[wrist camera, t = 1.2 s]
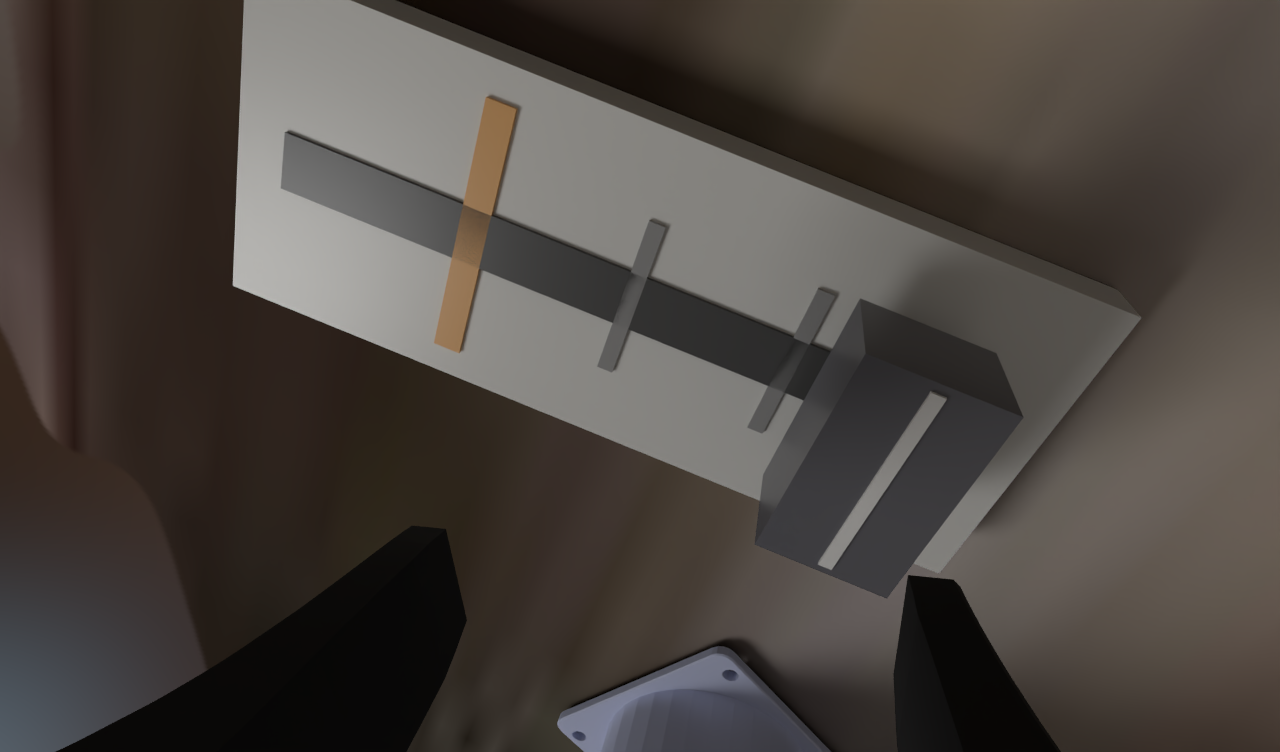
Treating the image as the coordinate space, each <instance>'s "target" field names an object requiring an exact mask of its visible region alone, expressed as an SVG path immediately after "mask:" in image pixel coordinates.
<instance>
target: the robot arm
mask: <svg viewBox="0 0 1280 752" xmlns="http://www.w3.org/2000/svg"><path fill="white" fill-rule="evenodd" d="M466 621H467V619H466V615H465V610H464V606H463V602H462V597H461V593H460V589H459V584H458V580H457V576H456V571H455V567H454V563H453V558H452V554H451V550H450V545H449V541H448V537H447V532H446V529H440V528H430V527H420V526H411V527H409V528H408V529H407V530H405V531H404V532H402V533H401V534H399V535H398V536H397V537H395V538H394V539H392V540H391V541H390V542H388V543H387V544H386V545H384V546H383V547H382V548H380V549H379V550H378V551H376V552H375V553H374V554H372V555H371V556H370V557H368V558H367V559H366V560H364V561H363V562H362V563H360V564H359V565H358V566H356V567H355V568H354V569H352V570H351V571H350V572H349V573H347V574H346V575H345V576H343V577H342V578H340V579H339V580H338V581H336V582H335V583H334V584H332V585H331V586H330V587H328V588H327V589H326V590H324V591H323V592H322V593H320V594H319V595H318V596H316V597H315V598H313V599H312V600H311V601H309V602H308V603H307V604H305V605H304V606H303V607H301V608H300V609H298V610H297V611H296V612H294V613H293V614H291V615H290V616H288V617H287V618H285V619H284V620H283V621H281V622H280V623H278V624H277V625H275V626H274V627H272V628H271V629H269V630H268V631H266V632H265V633H264V634H262V635H261V636H259V637H258V638H256V639H255V640H253V641H252V642H250V643H249V644H247V645H246V646H245V647H243V648H242V649H240V650H239V651H237V652H236V653H234V654H233V655H231V656H229V657H228V658H226V659H225V660H223V661H222V662H220V663H218V664H217V665H215V666H214V667H212V668H210V669H209V670H207V671H205V672H204V673H202V674H201V675H199V676H197V677H195V678H194V679H192V680H190V681H189V682H187V683H185V684H184V685H182V686H180V687H178V688H177V689H175V690H173V691H172V692H170V693H168V694H167V695H165V696H163V697H161V698H160V699H158V700H156V701H154V702H152V703H150V704H149V705H147V706H145V707H143V708H141V709H139V710H137V711H135V712H133V713H131V714H130V715H127V716H126V717H124V718H122V719H120V720H118V721H116V722H114V723H112V724H110V725H108V726H106V727H104V728H103V729H101V730H99V731H97V732H95V733H93V734H91V735H89V736H87V737H85V738H83V739H81V740H79V741H77V742H75V743H73V744H71V745H69V746H67V747H65V748H63V749H60V750H58V751H56V752H406V751H407V750H408V748H409V746H410V744H411V742H412V740H413V738H414V736H415V735H416V733H417V731H418V729H419V727H420V725H421V723H422V721H423V720H424V718H425V716H426V714H427V712H428V710H429V708H430V706H431V704H432V702H433V700H434V699H435V697H436V695H437V693H438V691H439V689H440V687H441V685H442V683H443V681H444V679H445V677H446V674H447V672H448V669H449V667H450V664H451V661H452V659H453V656H454V654H455V651H456V649H457V646H458V643H459V640H460V637H461V635H462V632H463V629H464V626H465V624H466ZM729 670H733V671H729ZM894 693H895V714H896V733H897V747H898V752H1061V751H1060V750H1059V748H1058V747H1057V746H1056V744H1055V743H1054V741H1053V740H1052V738H1051V737H1050V735H1049V734H1048V733H1047V731H1046V730H1045V728H1044V727H1043V725H1042V724H1041V722H1040V721H1039V719H1038V718H1037V716H1036V715H1035V713H1034V712H1033V710H1032V709H1031V707H1030V706H1029V704H1028V703H1027V701H1026V700H1025V698H1024V696H1023V695H1022V693H1021V692H1020V690H1019V689H1018V687H1017V686H1016V684H1015V683H1014V681H1013V680H1012V678H1011V676H1010V675H1009V673H1008V671H1007V670H1006V668H1005V667H1004V665H1003V663H1002V662H1001V660H1000V658H999V657H998V655H997V653H996V652H995V650H994V648H993V646H992V645H991V643H990V641H989V640H988V638H987V636H986V634H985V633H984V631H983V629H982V627H981V626H980V624H979V622H978V620H977V618H976V617H975V615H974V613H973V611H972V609H971V607H970V605H969V603H968V601H967V599H966V597H965V596H964V594H963V591H962V589H961V587H960V586H959V585H958V584H957V583H956V582H955V581H954V580H951V579H941V578H931V577H921V576H911V575H908V580H907V586H906V593H905V600H904V607H903V614H902V621H901V627H900V634H899V641H898V648H897V655H896V662H895V668H894ZM557 724H558V727H559V729H560V730H561V731H562V732H563V733H564V734H565V735H566V736H567V737H568V738H570V739H571V740H572V741H573V742H574V743H575V744H576V745H577V746H578V747H580V748H581V749H582V750H583V751H584V752H831V751H830V750H829V749H828V748H827V747H826V746H825V745H824V744H823V743H822V742H821V741H820V740H819V739H818V738H817V737H816V736H815V735H814V734H813V733H812V732H811V731H810V729H809V728H808V727H807V726H806V725H805V724H804V723H803V722H802V721H801V720H800V719H799V718H798V717H797V716H796V715H795V714H794V713H793V712H792V711H791V710H790V709H789V708H788V707H787V706H786V705H785V704H784V703H783V702H782V701H781V700H780V699H779V698H778V697H777V696H776V694H775V693H774V692H773V691H772V690H771V689H770V688H769V687H768V686H767V685H766V684H765V683H764V682H763V681H762V680H761V679H760V678H759V677H758V676H757V675H756V674H755V673H754V672H753V671H752V670H751V669H750V668H749V667H748V666H747V665H746V664H745V663H744V662H743V661H742V660H741V658H740V657H739V656H738V655H737V654H736V653H735V652H733V651H732V650H731V649H729V648H727V647H724V646H717V647H712V648H710V649H708V650H705V651H703V652H701V653H698V654H696V655H694V656H691V657H689V658H687V659H684V660H682V661H680V662H677V663H675V664H673V665H670V666H668V667H666V668H663V669H661V670H659V671H656V672H654V673H652V674H649V675H647V676H645V677H642V678H640V679H638V680H635V681H633V682H631V683H628V684H626V685H624V686H621V687H619V688H617V689H614V690H612V691H610V692H607V693H605V694H603V695H600V696H598V697H596V698H593V699H591V700H589V701H586V702H584V703H582V704H579V705H577V706H575V707H572V708H570V709H568V710H565V711H563V712H562V713H561V714H560V717H559V720H558V723H557Z"/></svg>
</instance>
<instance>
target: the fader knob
mask: <svg viewBox="0 0 1280 752" xmlns="http://www.w3.org/2000/svg"><path fill="white" fill-rule="evenodd" d="M1023 418H1024V417H1023V415H1022V412H1021V410H1020V408H1019V405H1018V403H1017V400H1016V398H1015V396H1014V393H1013V391H1012V389H1011V386H1010V384H1009V382H1008V379H1007V377H1006V374H1005V372H1004V370H1003V367H1002V365H1001V363H1000V360H999V358H998V356H997V353H995V352H992V351H990V350H987V349H985V348H982V347H980V346H978V345H975V344H973V343H970V342H968V341H965V340H963V339H960V338H958V337H955V336H953V335H950V334H948V333H945V332H943V331H940V330H938V329H935V328H933V327H930V326H928V325H925V324H923V323H920V322H918V321H916V320H913V319H911V318H908V317H906V316H903V315H901V314H898V313H896V312H893V311H891V310H888V309H886V308H883V307H881V306H878V305H876V304H873V303H871V302H868V301H866V300H863V299H861V298H860V299H859V301H858V303H857V305H856V307H855V308H854V310H853V312H852V314H851V316H850V317H849V319H848V321H847V323H846V325H845V327H844V328H843V330H842V332H841V334H840V336H839V337H838V339H837V341H836V343H835V345H834V347H833V348H832V350H831V352H830V354H829V356H828V357H827V359H826V361H825V363H824V365H823V366H822V368H821V370H820V372H819V374H818V376H817V377H816V379H815V381H814V383H813V385H812V386H811V388H810V390H809V392H808V394H807V396H806V397H805V399H804V401H803V403H802V405H801V406H800V408H799V410H798V412H797V414H796V416H795V417H794V419H793V421H792V423H791V425H790V426H789V428H788V430H787V432H786V434H785V436H784V437H783V439H782V441H781V443H780V445H779V446H778V448H777V450H776V452H775V454H774V456H773V457H772V459H771V461H770V463H769V465H768V466H767V468H766V470H765V472H764V474H763V479H762V487H761V495H760V504H759V512H758V521H757V529H756V537H755V545H757V546H760V547H762V548H765V549H767V550H769V551H772V552H774V553H777V554H779V555H782V556H784V557H787V558H789V559H791V560H794V561H796V562H799V563H801V564H804V565H806V566H809V567H811V568H813V569H816V570H818V571H821V572H823V573H826V574H828V575H831V576H833V577H835V578H838V579H840V580H843V581H845V582H848V583H850V584H853V585H855V586H857V587H860V588H862V589H865V590H867V591H870V592H872V593H875V594H877V595H879V596H882V597H884V598H887V597H888V596H889V595H890V593H891V592H892V591H893V589H894V588H895V587H896V585H897V584H898V583H899V581H900V580H901V579H902V578H903V576H904V575H905V574H906V572H907V571H908V570H909V568H910V567H911V566H912V564H913V563H914V562H915V560H916V559H917V558H918V556H919V555H920V554H921V552H922V551H923V550H924V548H925V547H926V546H927V544H928V543H929V542H930V541H931V539H932V538H933V537H934V535H935V534H936V533H937V531H938V530H939V529H940V527H941V526H942V525H943V523H944V522H945V521H946V519H947V518H948V517H949V515H950V514H951V513H952V511H953V510H954V509H955V507H956V506H957V505H958V504H959V502H960V501H961V500H962V498H963V497H964V496H965V494H966V493H967V492H968V490H969V489H970V488H971V486H972V485H973V484H974V482H975V481H976V480H977V478H978V477H979V476H980V474H981V473H982V472H983V470H984V469H985V468H986V467H987V465H988V464H989V463H990V461H991V460H992V459H993V457H994V456H995V455H996V453H997V452H998V451H999V449H1000V448H1001V447H1002V445H1003V444H1004V443H1005V441H1006V440H1007V439H1008V437H1009V436H1010V435H1011V434H1012V432H1013V431H1014V430H1015V428H1016V427H1017V426H1018V424H1019V423H1020V422H1021V420H1022V419H1023Z"/></svg>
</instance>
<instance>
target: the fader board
mask: <svg viewBox="0 0 1280 752" xmlns="http://www.w3.org/2000/svg"><path fill="white" fill-rule="evenodd" d="M233 286H235V287H237V288H240V289H242V290H245V291H247V292H250V293H252V294H255V295H257V296H260V297H262V298H264V299H267V300H269V301H272V302H274V303H277V304H279V305H282V306H284V307H286V308H289V309H291V310H294V311H296V312H299V313H301V314H304V315H306V316H309V317H311V318H313V319H316V320H318V321H321V322H323V323H326V324H328V325H331V326H333V327H335V328H338V329H340V330H343V331H345V332H348V333H350V334H353V335H355V336H358V337H360V338H362V339H365V340H367V341H370V342H372V343H375V344H377V345H380V346H382V347H385V348H387V349H389V350H392V351H394V352H397V353H399V354H402V355H404V356H407V357H409V358H411V359H414V360H416V361H419V362H421V363H424V364H426V365H429V366H431V367H434V368H436V369H438V370H441V371H443V372H446V373H448V374H451V375H453V376H456V377H458V378H460V379H463V380H465V381H468V382H470V383H473V384H475V385H478V386H480V387H483V388H485V389H487V390H490V391H492V392H495V393H497V394H500V395H502V396H505V397H507V398H509V399H512V400H514V401H517V402H519V403H522V404H524V405H527V406H529V407H532V408H534V409H536V410H539V411H541V412H544V413H546V414H549V415H551V416H554V417H556V418H558V419H561V420H563V421H566V422H568V423H571V424H573V425H576V426H578V427H581V428H583V429H585V430H588V431H590V432H593V433H595V434H598V435H600V436H603V437H605V438H607V439H610V440H612V441H615V442H617V443H620V444H622V445H625V446H627V447H630V448H632V449H634V450H637V451H639V452H642V453H644V454H647V455H649V456H652V457H654V458H657V459H659V460H661V461H664V462H666V463H669V464H671V465H674V466H676V467H679V468H681V469H683V470H686V471H688V472H691V473H693V474H696V475H698V476H701V477H703V478H706V479H708V480H710V481H713V482H715V483H718V484H720V485H723V486H725V487H728V488H730V489H732V490H735V491H737V492H740V493H742V494H745V495H747V496H750V497H752V498H755V499H757V500H759V501H760V495H761V487H762V479H763V474H764V472H765V470H766V468H767V466H768V465H769V463H770V461H771V459H772V457H773V456H774V454H775V452H776V450H777V448H778V446H779V445H780V443H781V441H782V439H783V437H784V436H785V434H786V432H787V430H788V428H789V426H790V425H791V423H792V421H793V419H794V417H795V416H796V414H797V412H798V410H799V408H800V406H801V405H802V403H803V401H804V399H805V397H806V396H807V394H808V392H809V390H810V388H811V386H812V385H813V383H814V381H815V379H816V377H817V376H818V374H819V372H820V370H821V368H822V366H823V365H824V363H825V361H826V359H827V357H828V356H829V354H830V352H831V350H832V348H833V347H834V345H835V343H836V341H837V339H838V337H839V336H840V334H841V332H842V330H843V328H844V327H845V325H846V323H847V321H848V319H849V317H850V316H851V314H852V312H853V310H854V308H855V307H856V305H857V303H858V301H859V299H860V298H861V299H863V300H866V301H868V302H871V303H873V304H876V305H878V306H881V307H883V308H886V309H888V310H891V311H893V312H896V313H898V314H901V315H903V316H906V317H908V318H911V319H913V320H916V321H918V322H920V323H923V324H925V325H928V326H930V327H933V328H935V329H938V330H940V331H943V332H945V333H948V334H950V335H953V336H955V337H958V338H960V339H963V340H965V341H968V342H970V343H973V344H975V345H978V346H980V347H982V348H985V349H987V350H990V351H992V352H995V353H997V356H998V358H999V360H1000V363H1001V365H1002V367H1003V370H1004V372H1005V374H1006V377H1007V379H1008V382H1009V384H1010V386H1011V389H1012V391H1013V393H1014V396H1015V398H1016V400H1017V403H1018V405H1019V408H1020V410H1021V412H1022V415H1023V417H1024V418H1023V419H1022V420H1021V422H1020V423H1019V424H1018V426H1017V427H1016V428H1015V430H1014V431H1013V432H1012V434H1011V435H1010V436H1009V437H1008V439H1007V440H1006V441H1005V443H1004V444H1003V445H1002V447H1001V448H1000V449H999V451H998V452H997V453H996V455H995V456H994V457H993V459H992V460H991V461H990V463H989V464H988V465H987V467H986V468H985V469H984V470H983V472H982V473H981V474H980V476H979V477H978V478H977V480H976V481H975V482H974V484H973V485H972V486H971V488H970V489H969V490H968V492H967V493H966V494H965V496H964V497H963V498H962V500H961V501H960V502H959V504H958V505H957V506H956V507H955V509H954V510H953V511H952V513H951V514H950V515H949V517H948V518H947V519H946V521H945V522H944V523H943V525H942V526H941V527H940V529H939V530H938V531H937V533H936V534H935V535H934V537H933V538H932V539H931V541H930V542H929V543H928V544H927V546H926V547H925V548H924V550H923V551H922V552H921V554H920V555H919V556H918V558H917V559H916V560H915V562H914V564H916V565H919V566H921V567H924V568H926V569H929V570H931V571H933V572H936V573H938V574H939V573H940V572H941V571H942V569H943V568H944V567H945V566H946V564H947V563H948V562H949V560H950V559H951V558H952V557H953V555H954V554H955V553H956V552H957V550H958V549H959V548H960V547H961V545H962V544H963V543H964V542H965V540H966V539H967V538H968V537H969V535H970V534H971V533H972V531H973V530H974V529H975V528H976V526H977V525H978V524H979V523H980V521H981V520H982V519H983V518H984V516H985V515H986V514H987V513H988V511H989V510H990V509H991V507H992V506H993V505H994V504H995V502H996V501H997V500H998V499H999V497H1000V496H1001V495H1002V494H1003V492H1004V491H1005V490H1006V489H1007V487H1008V486H1009V485H1010V483H1011V482H1012V481H1013V480H1014V478H1015V477H1016V476H1017V475H1018V473H1019V472H1020V471H1021V470H1022V468H1023V467H1024V466H1025V465H1026V463H1027V462H1028V461H1029V460H1030V458H1031V457H1032V456H1033V454H1034V453H1035V452H1036V451H1037V449H1038V448H1039V447H1040V446H1041V444H1042V443H1043V442H1044V441H1045V439H1046V438H1047V437H1048V436H1049V434H1050V433H1051V432H1052V430H1053V429H1054V428H1055V427H1056V425H1057V424H1058V423H1059V422H1060V420H1061V419H1062V418H1063V417H1064V415H1065V414H1066V413H1067V412H1068V410H1069V409H1070V408H1071V406H1072V405H1073V404H1074V403H1075V401H1076V400H1077V399H1078V398H1079V396H1080V395H1081V394H1082V393H1083V391H1084V390H1085V389H1086V388H1087V386H1088V385H1089V384H1090V382H1091V381H1092V380H1093V379H1094V377H1095V376H1096V375H1097V374H1098V372H1099V371H1100V370H1101V369H1102V367H1103V366H1104V365H1105V364H1106V362H1107V361H1108V360H1109V359H1110V357H1111V356H1112V355H1113V353H1114V352H1115V351H1116V350H1117V348H1118V347H1119V346H1120V345H1121V343H1122V342H1123V341H1124V340H1125V338H1126V337H1127V336H1128V335H1129V333H1130V332H1131V331H1132V329H1133V328H1134V327H1135V326H1136V324H1137V323H1138V322H1139V321H1140V319H1141V318H1142V317H1141V316H1140V315H1139V314H1138V313H1137V312H1136V310H1135V309H1134V308H1133V307H1132V306H1131V305H1130V303H1129V302H1128V301H1127V300H1126V299H1125V298H1124V296H1123V295H1122V294H1121V293H1120V292H1119V291H1118V290H1117V289H1115V288H1112V287H1110V286H1107V285H1105V284H1102V283H1100V282H1097V281H1095V280H1092V279H1090V278H1087V277H1085V276H1082V275H1080V274H1077V273H1075V272H1072V271H1070V270H1067V269H1065V268H1062V267H1060V266H1057V265H1055V264H1052V263H1050V262H1047V261H1045V260H1042V259H1040V258H1037V257H1035V256H1032V255H1030V254H1027V253H1025V252H1022V251H1020V250H1017V249H1015V248H1012V247H1010V246H1007V245H1005V244H1002V243H1000V242H997V241H995V240H992V239H990V238H987V237H985V236H982V235H980V234H977V233H975V232H972V231H970V230H968V229H965V228H963V227H960V226H958V225H955V224H953V223H950V222H948V221H945V220H943V219H940V218H938V217H935V216H933V215H930V214H928V213H925V212H923V211H920V210H918V209H915V208H913V207H910V206H908V205H905V204H903V203H900V202H898V201H895V200H893V199H890V198H888V197H885V196H883V195H880V194H878V193H875V192H873V191H870V190H868V189H865V188H863V187H860V186H858V185H855V184H853V183H850V182H848V181H845V180H843V179H840V178H838V177H835V176H833V175H830V174H828V173H825V172H823V171H820V170H818V169H815V168H813V167H810V166H808V165H805V164H803V163H800V162H798V161H795V160H793V159H790V158H788V157H785V156H783V155H780V154H778V153H775V152H773V151H770V150H768V149H765V148H763V147H760V146H758V145H755V144H753V143H750V142H748V141H745V140H743V139H740V138H738V137H736V136H733V135H731V134H728V133H726V132H723V131H721V130H718V129H716V128H713V127H711V126H708V125H706V124H703V123H701V122H698V121H696V120H693V119H691V118H688V117H686V116H683V115H681V114H678V113H676V112H673V111H671V110H668V109H666V108H663V107H661V106H658V105H656V104H653V103H651V102H648V101H646V100H643V99H641V98H638V97H636V96H633V95H631V94H628V93H626V92H623V91H621V90H618V89H616V88H613V87H611V86H608V85H606V84H603V83H601V82H598V81H596V80H593V79H591V78H588V77H586V76H583V75H581V74H578V73H576V72H573V71H571V70H568V69H566V68H563V67H561V66H558V65H556V64H553V63H551V62H548V61H546V60H543V59H541V58H538V57H536V56H533V55H531V54H528V53H526V52H523V51H521V50H518V49H516V48H513V47H511V46H508V45H506V44H503V43H501V42H499V41H496V40H494V39H491V38H489V37H486V36H484V35H481V34H479V33H476V32H474V31H471V30H469V29H466V28H464V27H461V26H459V25H456V24H454V23H451V22H449V21H446V20H444V19H441V18H439V17H436V16H434V15H431V14H429V13H426V12H424V11H421V10H419V9H416V8H414V7H411V6H409V5H406V4H404V3H401V2H399V1H396V0H244V16H243V41H242V67H241V92H240V117H239V143H238V168H237V193H236V219H235V244H234V269H233Z"/></svg>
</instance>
